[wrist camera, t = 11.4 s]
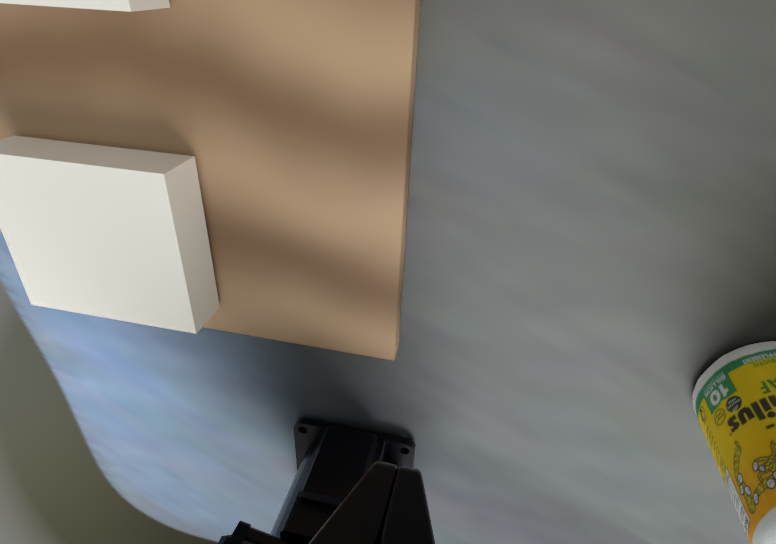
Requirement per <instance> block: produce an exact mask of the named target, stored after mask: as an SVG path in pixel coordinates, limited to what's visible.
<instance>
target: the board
mask: <svg viewBox="0 0 776 544" xmlns="http://www.w3.org/2000/svg"><path fill="white" fill-rule="evenodd" d="M420 2H421V0H169V3H170V8H162V9H153V10H143V11H134V12H126V11H111V10H96V9H81V8H66V7H51V6H35V5H20V4H5V3H0V139H1V140H2V139H5V138H8V137H11V136H23V137H32V138H40V139H49V140H58V141H66V142H75V143H84V144H92V145H101V146H110V147H119V148H127V149H136V150H145V151H153V152H162V153H171V154H179V155H188V156H195V161H196V167H197V173H198V179H199V185H200V191H201V197H202V203H203V209H204V215H205V221H206V227H207V233H208V239H209V245H210V251H211V257H212V263H213V269H214V275H215V281H216V287H217V293H218V299H219V305H220V307H219V308H218V310H217V311H216V312H215V313H214V314H213V315H212V316H211V318H210V319H209V320H208V321H207V322H206V323H205V324H204V326H203V327H204V328H210V329H215V330H221V331H227V332H233V333H238V334H244V335H250V336H255V337H261V338H267V339H273V340H278V341H284V342H290V343H296V344H301V345H307V346H313V347H319V348H324V349H330V350H336V351H342V352H347V353H353V354H359V355H365V356H370V357H376V358H382V359H387V360H393V361H394V360H395V356H396V353H397V350H398V347H399V331H400V316H401V300H402V284H403V269H404V253H405V237H406V222H407V206H408V190H409V175H410V159H411V143H412V128H413V112H414V96H415V81H416V65H417V49H418V34H419V18H420Z"/></svg>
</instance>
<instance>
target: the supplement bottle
mask: <svg viewBox="0 0 776 544" xmlns="http://www.w3.org/2000/svg"><path fill="white" fill-rule="evenodd" d="M692 398H693V407H694V411H695V413H696V416H697V418H698V421H699V424H700V426H701V428H702V430H703V433H704V435H705V437H706V440H707V442H708V445H709V447H710V449H711V452H712V454H713V456H714V459H715V461H716V464H717V466H718V468H719V471H720V473H721V476H722V478H723V480H724V483H725V485H726V487H727V490H728V492H729V494H730V496H731V499H732V501H733V503H734V506H735V508H736V511H737V513H738V515H739V518H740V520H741V523H742V525H743V527H744V530H745V532H746V535H747V537H748V540H749V542H750V544H776V341H768V342H761V343H755V344H751V345H746V346H744V347H741V348H738V349H736V350H733V351H731V352H729V353H727V354H725V355H723V356H722V357H720V358H719V359H718V360H716V361H715V362H714V363H713V364H712V365H711V366H710V367H709V368H708V369H707V370H706V371H705V372H704V373H703V374H702V375H701V376H700V378H699V379H698V381H697V383H696V386H695V388H694V391H693V396H692Z"/></svg>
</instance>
